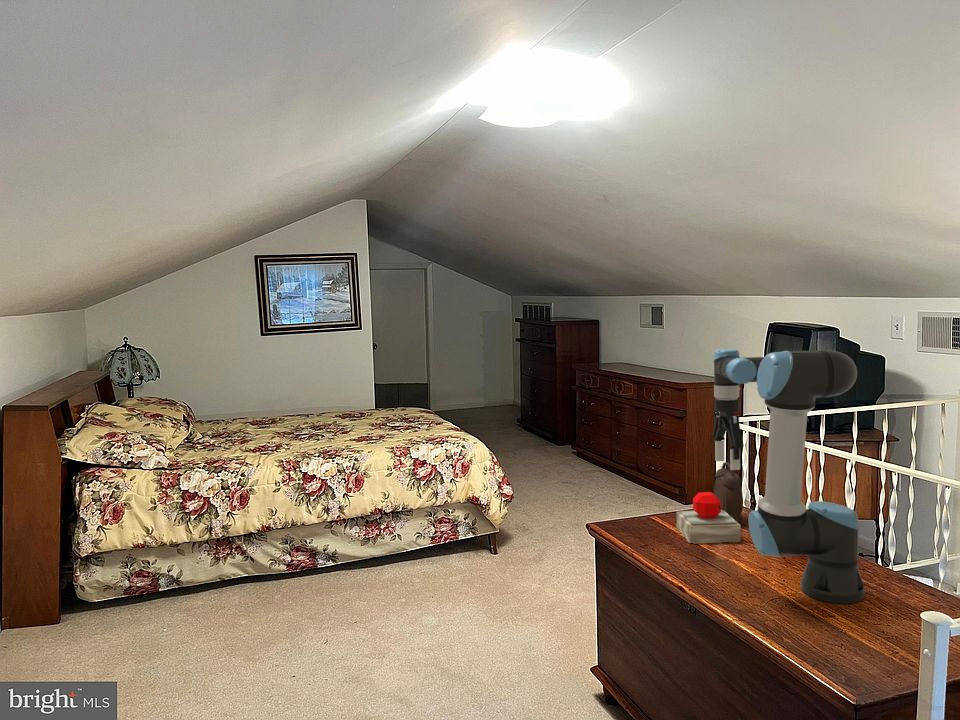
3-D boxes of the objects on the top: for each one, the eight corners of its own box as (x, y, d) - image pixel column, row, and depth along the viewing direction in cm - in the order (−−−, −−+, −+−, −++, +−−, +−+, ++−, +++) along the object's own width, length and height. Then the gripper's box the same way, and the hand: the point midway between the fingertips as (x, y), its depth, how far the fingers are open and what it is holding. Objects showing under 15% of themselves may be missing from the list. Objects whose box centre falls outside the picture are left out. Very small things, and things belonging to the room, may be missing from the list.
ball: (723, 520, 237) (723, 496, 236) (698, 520, 237) (698, 497, 236) (715, 512, 245) (715, 490, 244) (691, 513, 245) (690, 490, 244)
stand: (740, 542, 234) (740, 523, 233) (689, 543, 234) (689, 525, 233) (723, 526, 250) (723, 508, 249) (676, 527, 250) (676, 510, 249)
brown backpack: (746, 526, 249) (746, 467, 247) (724, 526, 249) (724, 468, 248) (732, 513, 264) (732, 458, 262) (712, 513, 264) (712, 458, 262)
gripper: (754, 402, 220) (754, 473, 221) (724, 393, 245) (725, 457, 246) (729, 403, 220) (729, 474, 221) (702, 394, 245) (702, 457, 246)
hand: (727, 465), depth 234 cm, fingers open, 13 cm apart
